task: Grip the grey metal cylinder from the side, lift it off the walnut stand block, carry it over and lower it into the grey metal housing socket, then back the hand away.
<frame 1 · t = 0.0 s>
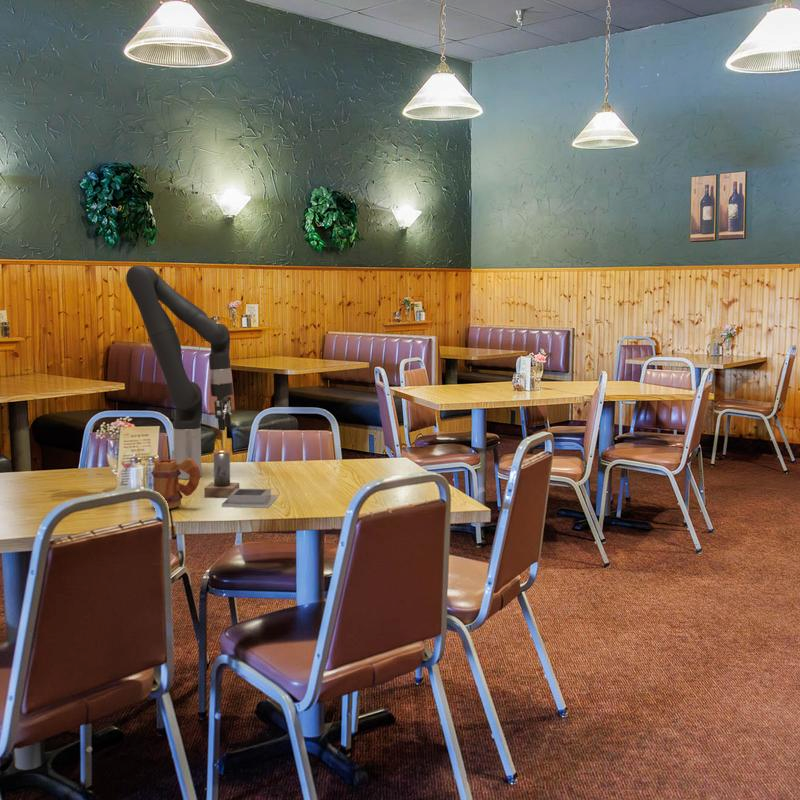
hand: (225, 428, 312), 17 cm above the table, tool pointing down, fingers open, 8 cm apart
housing: (249, 502, 275), on the table
mug: (175, 509, 266), on the table
stand: (222, 494, 285), on the table
grey metal cylinder: (222, 485, 285), point 3 cm above the table, touching stand
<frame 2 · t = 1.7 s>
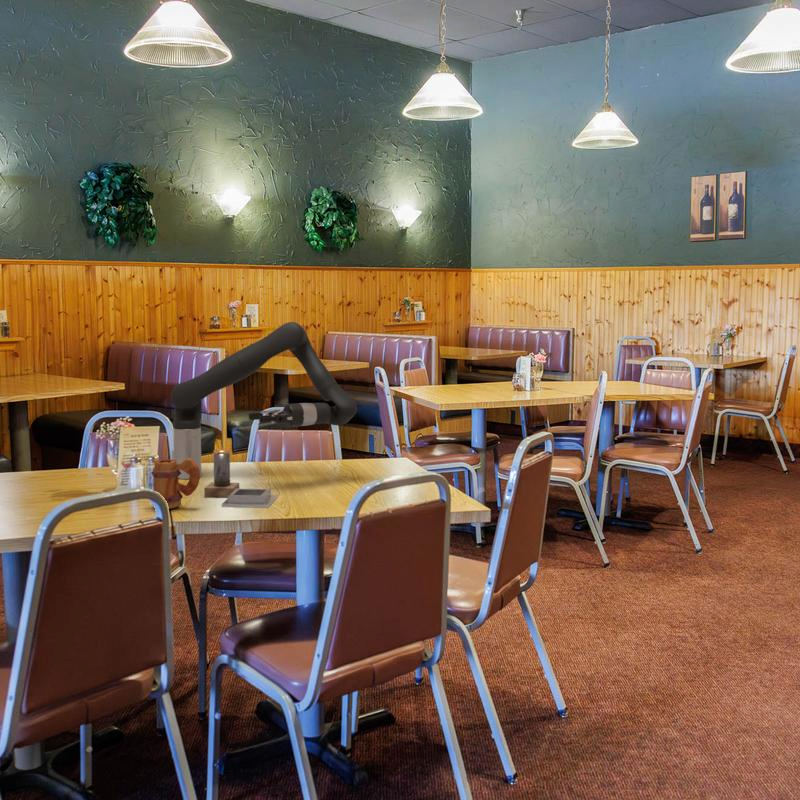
hand: (254, 418, 289), 24 cm above the table, tool horizontal, fingers open, 8 cm apart
nothing on the table moved.
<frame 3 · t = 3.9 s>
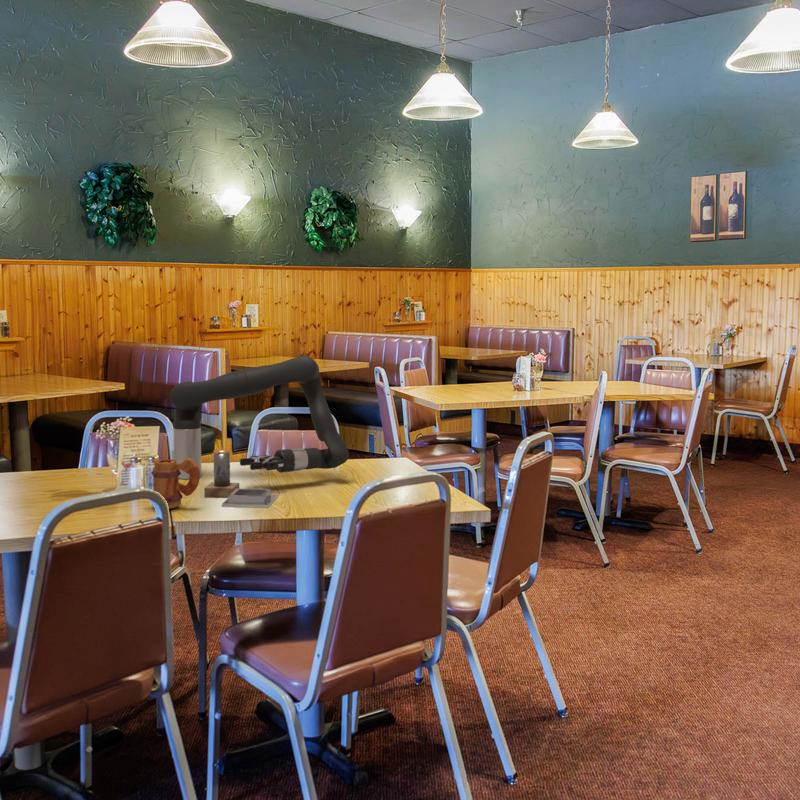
hand: (245, 464, 289), 9 cm above the table, tool horizontal, fingers open, 8 cm apart
nothing on the table moved.
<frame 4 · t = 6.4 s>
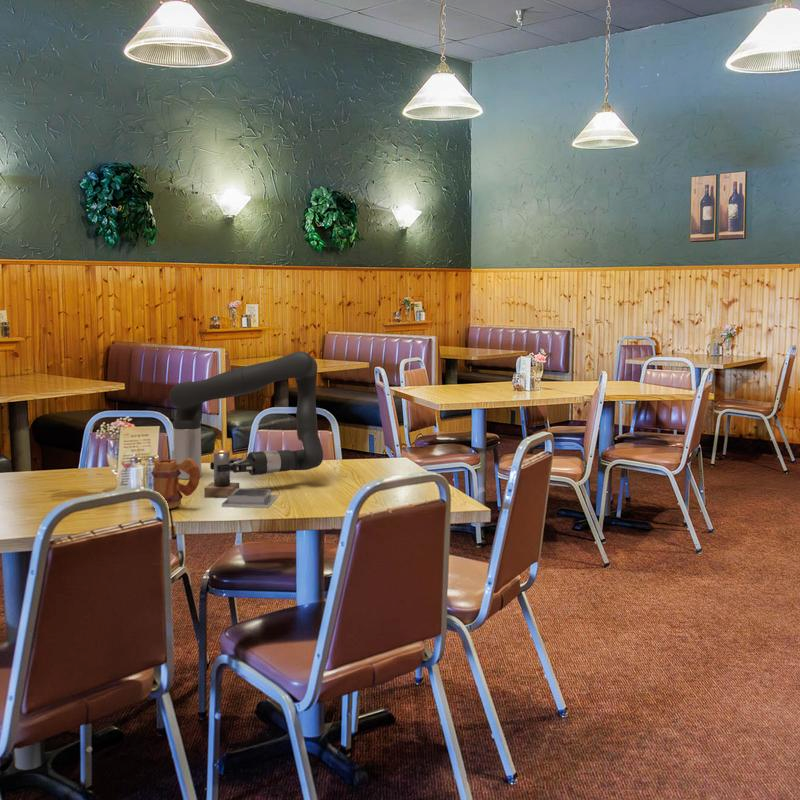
hand: (214, 467, 283), 9 cm above the table, tool horizontal, fingers closed on grey metal cylinder, 5 cm apart
grey metal cylinder: (222, 485, 285), point 3 cm above the table, touching gripper, stand
everything else where it was.
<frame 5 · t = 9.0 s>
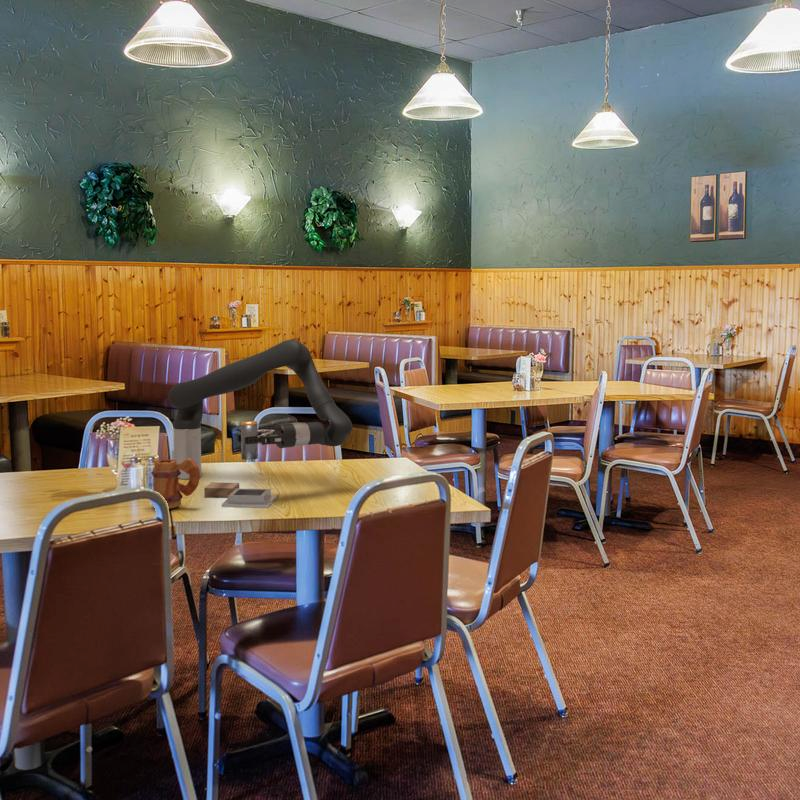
hand: (241, 439, 271), 20 cm above the table, tool horizontal, fingers closed on grey metal cylinder, 5 cm apart
grey metal cylinder: (249, 458, 273), point 14 cm above the table, touching gripper
everything else where it was.
when the fingers open (8 cm above the table, at t = 12.1 s): grey metal cylinder drops 1 cm, resting on housing.
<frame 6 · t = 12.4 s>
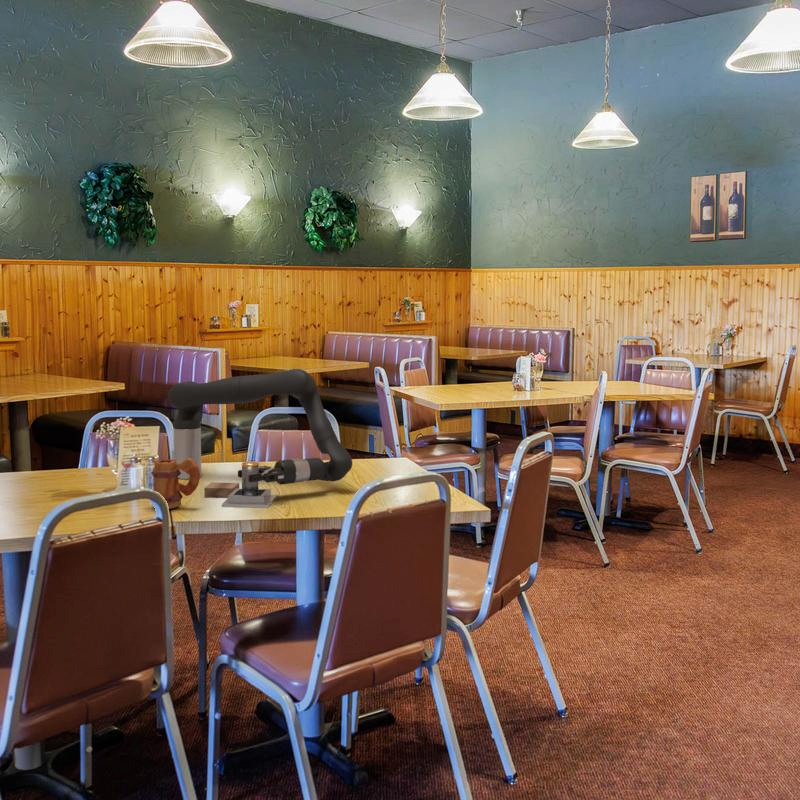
hand: (243, 476, 273), 8 cm above the table, tool horizontal, fingers open, 8 cm apart
grey metal cylinder: (250, 499, 275), point 1 cm above the table, touching housing
everything else where it was.
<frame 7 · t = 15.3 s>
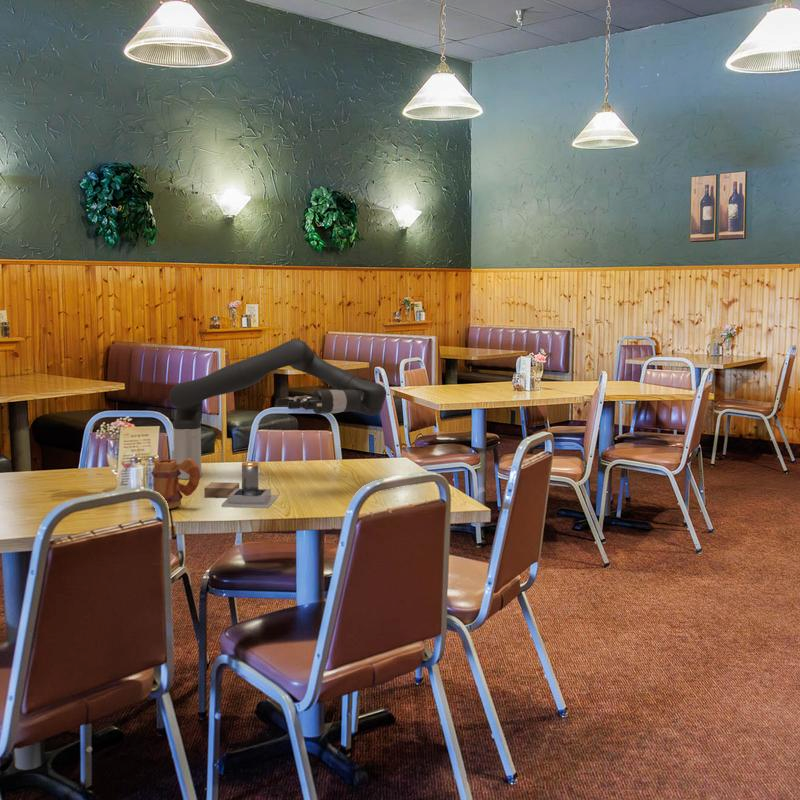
hand: (282, 403, 277), 30 cm above the table, tool horizontal, fingers open, 8 cm apart
nothing on the table moved.
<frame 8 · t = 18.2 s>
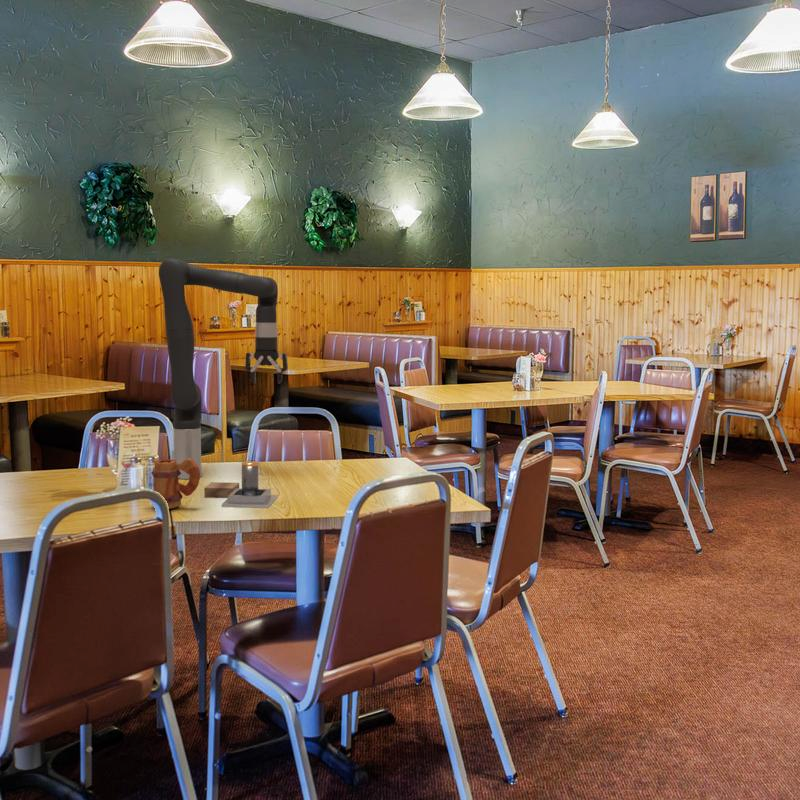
hand: (266, 383, 309), 33 cm above the table, tool pointing down, fingers open, 8 cm apart
nothing on the table moved.
at the end: grey metal cylinder 0.1 cm off-centre on the housing, point 0.9 cm above the housing's base; grey metal cylinder tilted 2°; the gripper is holding nothing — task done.
